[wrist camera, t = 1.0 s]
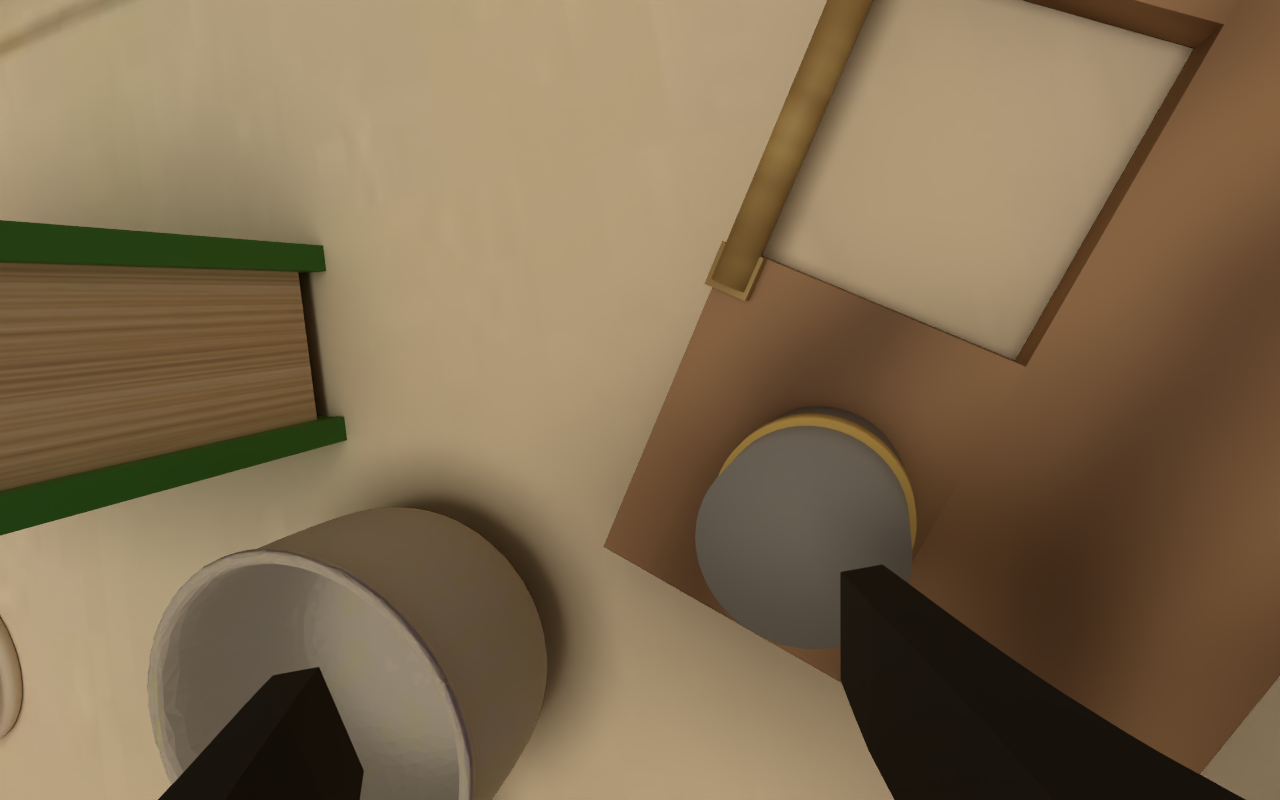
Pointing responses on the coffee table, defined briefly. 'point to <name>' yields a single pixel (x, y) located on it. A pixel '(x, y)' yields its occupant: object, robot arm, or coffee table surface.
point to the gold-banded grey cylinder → (803, 522)
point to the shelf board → (1046, 403)
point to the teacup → (364, 649)
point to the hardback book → (146, 364)
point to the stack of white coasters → (8, 682)
